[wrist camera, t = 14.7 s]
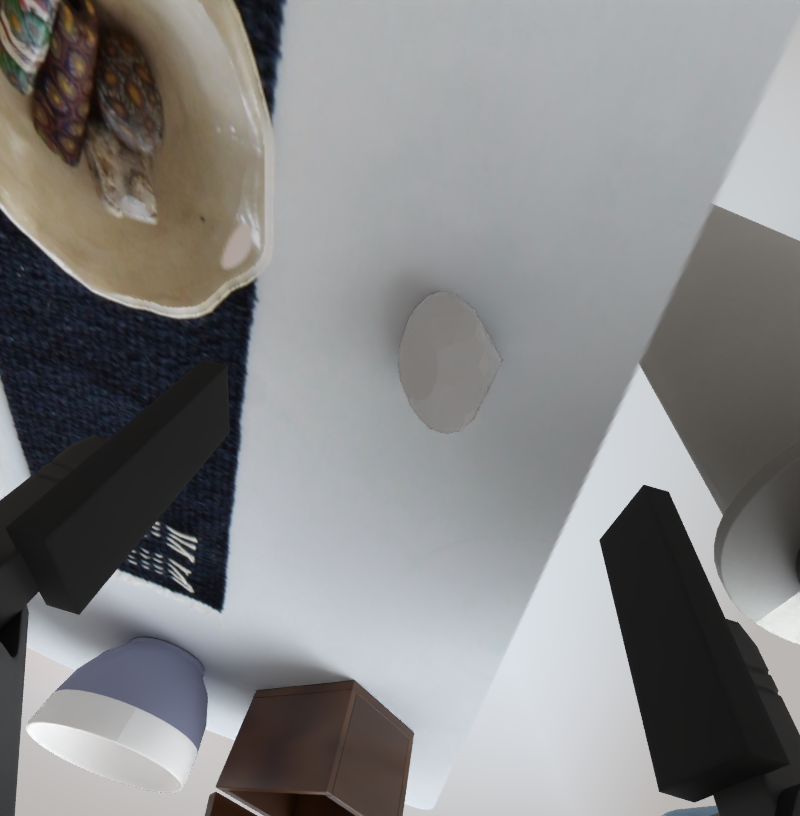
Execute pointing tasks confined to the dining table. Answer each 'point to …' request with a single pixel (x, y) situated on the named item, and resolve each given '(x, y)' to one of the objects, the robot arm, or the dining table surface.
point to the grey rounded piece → (446, 362)
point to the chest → (319, 754)
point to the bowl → (129, 715)
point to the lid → (224, 807)
